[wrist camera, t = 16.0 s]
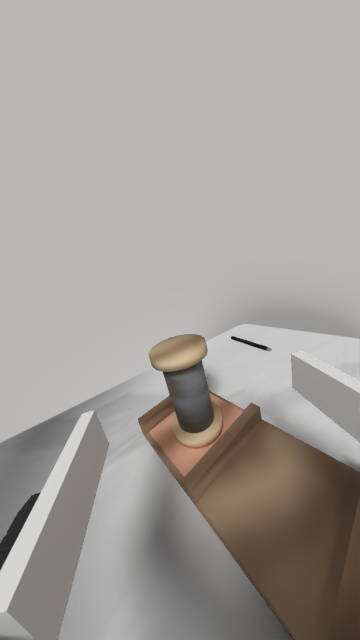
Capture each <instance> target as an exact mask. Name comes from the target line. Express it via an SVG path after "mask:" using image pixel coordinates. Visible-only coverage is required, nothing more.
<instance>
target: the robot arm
mask: <svg viewBox="0 0 360 640" xmlns="http://www.w3.org/2000/svg"><path fill="white" fill-rule="evenodd" d="M291 363H292V385H293V388H294V389H295V390H296V391H297V392H298V393H300V394H301V395H302V396H303V397H305V398H306V399H307V400H308V401H310V402H311V403H312V404H313V405H314V406H316V407H317V408H318V409H319V410H321V411H322V412H323V413H324V414H325V415H327V416H328V417H329V418H330V419H332V420H333V421H334V422H335V423H337V424H338V425H339V426H340V427H341V428H343V429H344V430H345V431H346V432H348V433H349V434H350V435H351V436H353V437H354V438H355V439H356V440H357V441H359V442H360V381H359V380H357V379H355V378H354V377H352V376H350V375H348V374H346V373H344V372H342V371H340V370H338V369H336V368H334V367H332V366H330V365H328V364H326V363H324V362H322V361H320V360H319V359H317V358H315V357H313V356H311V355H309V354H307V353H305V352H303V351H299V352H295V353H292V354H291ZM108 446H109V442H108V440H107V437H106V435H105V433H104V431H103V428H102V426H101V424H100V422H99V419H98V417H97V415H96V413H95V410H93V411H89V412H86V413H82V414H81V416H80V418H79V420H78V422H77V424H76V426H75V428H74V429H73V431H72V433H71V435H70V437H69V439H68V441H67V443H66V445H65V447H64V449H63V451H62V453H61V455H60V457H59V458H58V460H57V462H56V464H55V466H54V468H53V470H52V472H51V474H50V476H49V478H48V480H47V482H46V484H45V485H44V487H43V489H42V491H41V493H38V494H35V495H32V496H31V497H30V499H29V500H28V501H27V502H26V503H25V505H24V506H23V507H22V508H21V510H20V511H19V512H18V514H17V516H16V517H15V519H14V521H13V523H12V524H11V526H10V528H9V530H8V531H7V535H6V536H5V537H4V538H3V540H2V542H1V544H0V640H58V636H59V632H60V628H61V625H62V621H63V617H64V613H65V609H66V606H67V602H68V598H69V594H70V590H71V587H72V583H73V579H74V575H75V571H76V568H77V564H78V560H79V556H80V552H81V549H82V545H83V541H84V537H85V534H86V530H87V526H88V522H89V518H90V515H91V511H92V507H93V503H94V499H95V496H96V492H97V488H98V484H99V480H100V477H101V473H102V469H103V465H104V461H105V458H106V454H107V450H108Z"/></svg>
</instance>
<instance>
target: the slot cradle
mask: <svg viewBox="0 0 360 640" xmlns="http://www.w3.org/2000/svg"><path fill="white" fill-rule="evenodd" d="M209 394H210V399H211V401H213V402H214V403H216V404H217V405H218V406H219V408H220V410H221V413H222V418H223V430H222V433H221V435H220V436H219V438H218V439H217V440H216V441H215V442H214V443H212V444H211V445H209V446H207V447H204V448H199V449H192V448H188V447H185V446H183V445H181V444H180V443H179V442H178V441H177V439H176V438H175V435H174V432H173V429H172V425H171V420H172V416H173V414H174V412H175V410H174V407H173V403H172V400H171V397H170V396H169V397H167V398H166V399H164V400H163V401H162V402H160V403H159V404H158V405H156V406H155V407H154V408H152V409H151V410H149V411H148V412H147V413H145V414H144V415H143V416H141V417H140V418H138V421H139V424H140V426H141V429H142V432H143V435H144V436H145V437H146V439H147V440H148V441H149V443H150V444H151V446H152V447H153V448H154V450H155V451H156V452H157V454H158V455H159V456H160V458H161V459H162V461H163V462H164V463H165V465H166V466H167V467H168V469H169V470H170V472H171V473H172V474H173V476H174V477H175V478H176V480H177V481H178V482H179V484H180V485H181V487H182V488H183V489H184V491H185V492H186V493H187V495H188V496H189V497H190V499H191V500H192V502H193V503H194V504H195V506H196V507H197V508H198V510H199V511H200V512H201V514H202V515H203V517H204V518H205V519H206V521H207V522H208V523H209V525H210V526H211V527H212V529H213V530H214V532H215V533H216V534H217V536H218V537H219V538H220V540H221V541H222V542H223V544H224V545H225V547H226V548H227V549H228V551H229V552H230V553H231V555H232V556H233V558H234V559H235V560H236V562H237V563H238V564H239V566H240V567H241V568H242V570H243V571H244V573H245V574H246V575H247V577H248V578H249V579H250V581H251V582H252V583H253V585H254V586H255V588H256V589H257V590H258V592H259V593H260V594H261V596H262V597H263V598H264V600H265V601H266V603H267V604H268V605H269V607H270V608H271V609H272V611H273V612H274V613H275V615H276V616H277V618H278V619H279V620H280V622H281V623H282V624H283V626H284V627H285V629H286V630H287V631H288V633H289V634H290V635H291V637H292V638H293V639H294V640H360V472H358V471H356V470H354V469H352V468H350V467H349V466H347V465H345V464H343V463H341V462H339V461H338V460H336V459H334V458H332V457H330V456H328V455H326V454H325V453H323V452H321V451H319V450H317V449H315V448H314V447H312V446H310V445H308V444H306V443H304V442H303V441H301V440H299V439H297V438H295V437H293V436H291V435H290V434H288V433H286V432H284V431H282V430H280V429H279V428H277V427H275V426H273V425H271V424H269V423H268V422H266V421H264V420H262V419H261V412H260V407H259V406H257V405H255V404H253V403H250V405H249V406H248V407H247V408H246V409H245V410H244V409H242V408H240V407H238V406H236V405H234V404H233V403H231V402H229V401H227V400H225V399H223V398H221V397H220V396H218V395H216V394H214V393H212V392H210V391H209Z"/></svg>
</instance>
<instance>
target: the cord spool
mask: <svg viewBox="0 0 360 640" xmlns="http://www.w3.org/2000/svg"><path fill="white" fill-rule="evenodd" d="M207 351H208V350H207V345H206V341H205V339H204V337H202V336H200V335H195V334H186V335H179V336H175V337H171V338H169V339H166V340H164V341H162V342H160V343H158V344H157V345H155V346H154V347H153V348H152V349H151V350H150V352H149V358H150V361H151V364H152V366H153V368H155V369H156V370H159V371H163V374H164V377H165V381H166V384H167V387H168V390H169V394H170V397H171V400H172V403H173V407H174V410H175V412H174V414H173V416H172V420H171V425H172V429H173V432H174V435H175V438H176V439H177V441H178V442H179V443H180V444H181V445H183V446H185V447H188V448H192V449H199V448H204V447H207V446H209V445H211V444H212V443H214V442H215V441H216V440H217V439H218V438H219V436H220V435H221V433H222V430H223V418H222V413H221V410H220V408H219V406H218V405H217V404H216V403H214V402H213V401H211V399H210V394H209V390H208V386H207V382H206V377H205V373H204V369H203V365H202V359H203V358H204V357H205V356H206V354H207Z"/></svg>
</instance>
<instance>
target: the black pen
mask: <svg viewBox="0 0 360 640" xmlns="http://www.w3.org/2000/svg"><path fill="white" fill-rule="evenodd" d="M231 339H233V340H236V341H240V342H243V343H245V344H248V345H251V346H254V347H257V348H261V349H264V350H267V351H269V350H270V349H271V348H268V347H266V346H263V345H259V344H256V343H253V342H250V341H247V340H244V339H240V338H236V337H234V336H232V337H231ZM270 351H272V350H270Z"/></svg>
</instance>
